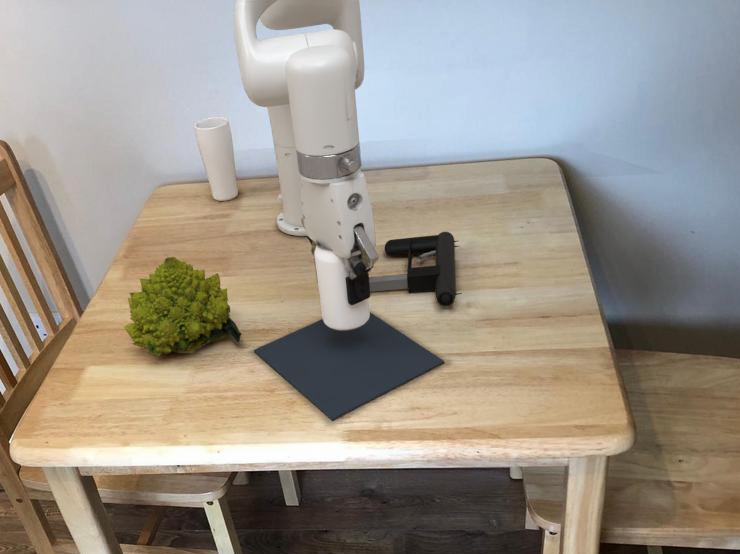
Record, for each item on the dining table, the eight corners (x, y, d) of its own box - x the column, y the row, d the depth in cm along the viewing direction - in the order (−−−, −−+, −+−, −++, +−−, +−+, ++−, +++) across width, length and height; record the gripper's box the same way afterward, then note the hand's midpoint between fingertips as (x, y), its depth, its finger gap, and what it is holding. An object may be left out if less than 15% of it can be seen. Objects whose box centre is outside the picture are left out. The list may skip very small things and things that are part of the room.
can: (321, 310, 106) (310, 232, 99) (366, 303, 106) (359, 225, 99) (325, 335, 101) (314, 254, 94) (373, 328, 101) (366, 247, 94)
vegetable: (268, 316, 107) (190, 248, 100) (196, 400, 108) (112, 338, 100) (236, 290, 120) (165, 228, 112) (172, 365, 120) (96, 308, 112)
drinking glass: (240, 201, 151) (226, 126, 142) (207, 205, 151) (191, 130, 142) (243, 188, 156) (230, 115, 147) (211, 191, 157) (196, 118, 148)
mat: (254, 352, 108) (253, 349, 108) (357, 305, 115) (356, 303, 114) (332, 421, 94) (332, 418, 93) (444, 363, 101) (444, 360, 100)
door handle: (352, 298, 112) (463, 289, 108) (362, 236, 127) (460, 226, 124) (355, 318, 113) (464, 309, 110) (365, 254, 129) (461, 245, 126)
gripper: (399, 169, 86) (406, 305, 96) (316, 135, 98) (330, 259, 109) (344, 189, 83) (358, 327, 93) (266, 151, 95) (286, 277, 106)
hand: (343, 289), depth 101 cm, fingers closed on can, 6 cm apart
